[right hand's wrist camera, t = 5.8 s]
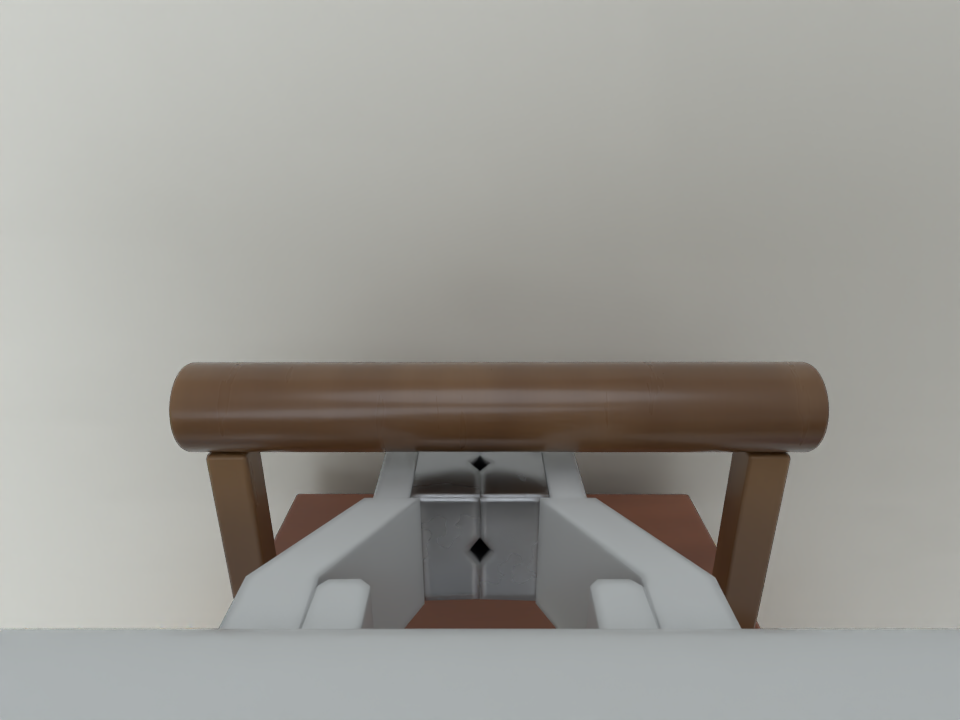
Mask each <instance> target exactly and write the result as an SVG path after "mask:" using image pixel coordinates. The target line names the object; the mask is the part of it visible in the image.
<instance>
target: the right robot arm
mask: <svg viewBox="0 0 960 720" xmlns="http://www.w3.org/2000/svg"><path fill="white" fill-rule="evenodd" d="M467 599H491V600H528V601H536V604H537V606H538V607H539V608H540V609H541V611H542V612H543V613H544V614H545V615H546V617H547V618H548V619H549V620H550V622H551V623H552V624H553V625H554V626H555V628H556V629H404V628H405V627H406V626H407V625H408V623H409V622H410V621H411V620H412V618H413V617H414V616H415V615H416V614H417V612H418V611H419V610H420V609H421V607H422V606H423V605H424V604H425V603H424V601H432V600H467ZM0 720H960V629H741V627H740V625H739V623H738V621H737V619H736V617H735V615H734V613H733V611H732V609H731V607H730V605H729V603H728V601H727V600H726V598H725V596H724V594H723V592H722V590H721V588H720V586H719V584H718V582H717V580H716V578H715V577H714V576H712V575H711V574H709V573H708V572H706V571H705V570H703V569H702V568H700V567H699V566H697V565H696V564H694V563H693V562H691V561H690V560H688V559H687V558H685V557H684V556H682V555H681V554H679V553H678V552H676V551H675V550H673V549H672V548H670V547H669V546H667V545H666V544H664V543H663V542H661V541H660V540H658V539H657V538H655V537H654V536H652V535H651V534H649V533H648V532H646V531H645V530H643V529H642V528H640V527H639V526H637V525H636V524H634V523H633V522H631V521H630V520H628V519H627V518H625V517H624V516H622V515H621V514H619V513H618V512H616V511H615V510H613V509H612V508H610V507H609V506H607V505H606V504H604V503H603V502H601V501H600V500H598V499H597V498H587V496H586V493H585V489H584V486H583V482H582V479H581V475H580V472H579V469H578V465H577V462H576V458H575V455H574V452H386V454H385V458H384V461H383V465H382V468H381V472H380V475H379V479H378V482H377V486H376V489H375V493H374V496H373V498H363V499H362V500H360V501H359V502H357V503H356V504H354V505H353V506H351V507H350V508H348V509H347V510H345V511H344V512H342V513H341V514H339V515H338V516H336V517H335V518H333V519H332V520H330V521H329V522H327V523H326V524H324V525H323V526H321V527H320V528H318V529H317V530H315V531H314V532H312V533H311V534H309V535H308V536H306V537H305V538H303V539H302V540H300V541H298V542H297V543H295V544H294V545H292V546H291V547H289V548H288V549H286V550H285V551H283V552H282V553H280V554H279V555H277V556H276V557H274V558H273V559H271V560H270V561H268V562H267V563H265V564H264V565H262V566H261V567H259V568H258V569H256V570H255V571H253V572H252V573H250V574H249V575H247V576H246V577H245V579H244V581H243V583H242V585H241V586H240V588H239V590H238V592H237V594H236V596H235V598H234V600H233V602H232V604H231V606H230V608H229V610H228V611H227V613H226V615H225V617H224V619H223V621H222V623H221V625H220V627H219V629H0Z"/></svg>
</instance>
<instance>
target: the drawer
mask: <svg viewBox="0 0 960 720" xmlns="http://www.w3.org/2000/svg"><path fill="white" fill-rule="evenodd" d="M169 415H170V424H171V429H172V433H173V436H174V438H175V440H176V442H177V443H178V445H179V446H180V447H181V448H182V449H184V450H186V451H188V452H210V453H209V454H208V455H207V465H208V471H209V476H210V481H211V486H212V491H213V496H214V501H215V506H216V511H217V516H218V522H219V527H220V532H221V537H222V542H223V547H224V552H225V557H226V562H227V568H228V573H229V578H230V583H231V588H232V593H233V598H235V596H236V594H237V592H238V590H239V588H240V586H241V585H242V583H243V581H244V579H245V577H246V576H247V575H249V574H250V573H252V572H253V571H255V570H256V569H258V568H259V567H261V566H262V565H264V564H265V563H267V562H268V561H270V560H271V559H273V558H274V557H276V556H277V555H279V554H280V553H282V552H283V551H285V550H286V549H288V548H289V547H291V546H292V545H294V544H295V543H297V542H298V541H300V540H302V539H303V538H305V537H306V536H308V535H309V534H311V533H312V532H314V531H315V530H317V529H318V528H320V527H321V526H323V525H324V524H326V523H327V522H329V521H330V520H332V519H333V518H335V517H336V516H338V515H339V514H341V513H342V512H344V511H345V510H347V509H348V508H350V507H351V506H353V505H354V504H356V503H357V502H359V501H360V500H362V499H363V498H373V496H374V494H298V495H297V496H296V498H295V500H294V502H293V504H292V506H291V508H290V510H289V512H288V514H287V516H286V518H285V520H284V522H283V523H282V525H281V527H280V529H279V531H278V533H277V535H276V537H275V539H274V537H273V531H272V524H271V518H270V512H269V505H268V499H267V493H266V486H265V480H264V473H263V467H262V461H261V454H260V452H733V454H732V460H731V466H730V472H729V478H728V484H727V490H726V496H725V501H724V507H723V513H722V519H721V525H720V531H719V537H718V543H717V547H716V545H715V543H714V542H713V540H712V538H711V536H710V534H709V532H708V530H707V529H706V527H705V525H704V523H703V521H702V519H701V518H700V516H699V514H698V512H697V510H696V508H695V507H694V505H693V503H692V501H691V499H690V497H689V496H688V495H686V494H586V496H587V498H597V499H598V500H600V501H601V502H603V503H604V504H606V505H607V506H609V507H610V508H612V509H613V510H615V511H616V512H618V513H619V514H621V515H622V516H624V517H625V518H627V519H628V520H630V521H631V522H633V523H634V524H636V525H637V526H639V527H640V528H642V529H643V530H645V531H646V532H648V533H649V534H651V535H652V536H654V537H655V538H657V539H658V540H660V541H661V542H663V543H664V544H666V545H667V546H669V547H670V548H672V549H673V550H675V551H676V552H678V553H679V554H681V555H682V556H684V557H685V558H687V559H688V560H690V561H691V562H693V563H694V564H696V565H697V566H699V567H700V568H702V569H703V570H705V571H706V572H708V573H709V574H711V575H712V576H714V577H715V578H716V580H717V582H718V584H719V586H720V588H721V590H722V592H723V594H724V596H725V598H726V600H727V601H728V603H729V605H730V607H731V609H732V611H733V613H734V615H735V617H736V619H737V621H738V623H739V625H740V627H741V629H761V628H760V626H759V624H758V623H757V621H756V620H757V615H758V610H759V606H760V601H761V596H762V591H763V587H764V582H765V577H766V572H767V568H768V563H769V558H770V553H771V549H772V544H773V539H774V534H775V530H776V525H777V520H778V515H779V511H780V506H781V501H782V497H783V492H784V487H785V482H786V478H787V473H788V468H789V463H790V456H789V454H788V453H787V452H809V451H811V450H813V449H815V448H816V447H817V446H818V445H819V444H820V443H821V441H822V440H823V438H824V435H825V433H826V429H827V425H828V418H829V403H828V396H827V391H826V387H825V384H824V382H823V379H822V377H821V375H820V374H819V372H818V371H817V370H816V369H815V368H814V367H813V366H812V365H810V364H808V363H805V362H210V363H190V364H188V365H186V366H184V367H183V368H182V369H181V371H180V372H179V373H178V375H177V377H176V379H175V381H174V384H173V387H172V391H171V396H170V406H169ZM424 603H425V604H424V605H423V606H422V607H421V609H420V610H419V611H418V612H417V614H416V615H415V616H414V617H413V618H412V620H411V621H410V622H409V623H408V625H407V626H406V627H405V628H404V629H556V628H555V626H554V625H553V624H552V623H551V622H550V620H549V619H548V618H547V617H546V615H545V614H544V613H543V612H542V611H541V609H540V608H539V607H538V606H537V604H536V601H528V600H491V599H467V600H432V601H424Z"/></svg>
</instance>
